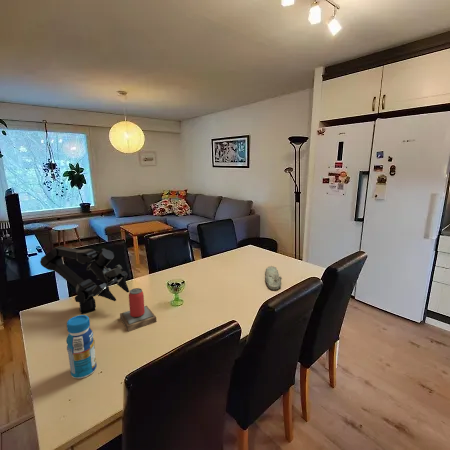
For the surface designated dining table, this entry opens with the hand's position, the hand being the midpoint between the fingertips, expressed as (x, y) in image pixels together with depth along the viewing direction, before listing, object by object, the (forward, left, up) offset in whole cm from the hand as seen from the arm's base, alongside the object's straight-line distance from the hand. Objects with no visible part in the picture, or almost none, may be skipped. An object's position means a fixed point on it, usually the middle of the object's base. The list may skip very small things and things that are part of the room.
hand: (122, 296), depth 126 cm
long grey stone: (+92, -9, -12) cm, 93 cm away
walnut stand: (+5, -6, -11) cm, 14 cm away
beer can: (+5, -6, -8) cm, 11 cm away
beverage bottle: (-21, -27, -11) cm, 36 cm away
